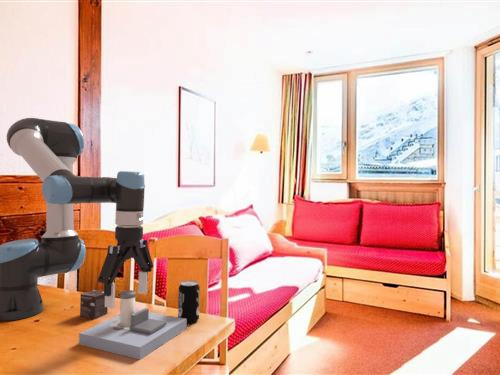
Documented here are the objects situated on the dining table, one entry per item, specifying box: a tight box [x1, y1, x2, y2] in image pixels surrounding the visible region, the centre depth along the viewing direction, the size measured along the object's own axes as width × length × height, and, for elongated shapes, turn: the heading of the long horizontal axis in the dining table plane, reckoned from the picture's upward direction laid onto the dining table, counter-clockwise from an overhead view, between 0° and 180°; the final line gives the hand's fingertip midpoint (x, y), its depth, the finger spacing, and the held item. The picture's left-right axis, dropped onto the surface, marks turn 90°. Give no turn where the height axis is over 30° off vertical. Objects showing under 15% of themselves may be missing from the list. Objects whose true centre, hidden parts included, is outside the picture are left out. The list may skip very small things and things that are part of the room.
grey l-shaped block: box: [130, 307, 166, 334], centre depth 101 cm, size 7×7×4 cm
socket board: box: [78, 309, 188, 360], centre depth 102 cm, size 20×21×3 cm
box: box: [79, 289, 109, 320], centre depth 118 cm, size 6×6×7 cm
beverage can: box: [177, 279, 201, 325], centre depth 115 cm, size 7×7×12 cm
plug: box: [119, 289, 137, 328], centre depth 103 cm, size 4×4×12 cm
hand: (127, 300), depth 104 cm, fingers open, 13 cm apart
